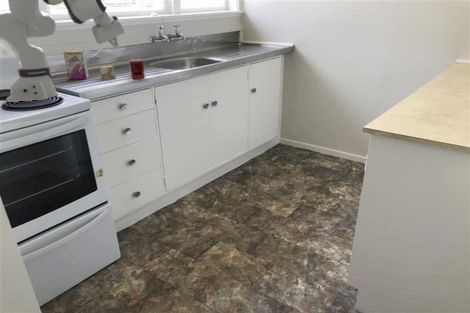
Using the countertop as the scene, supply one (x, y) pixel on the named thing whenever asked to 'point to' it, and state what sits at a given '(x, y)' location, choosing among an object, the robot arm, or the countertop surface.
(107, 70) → the birch block
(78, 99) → the countertop surface
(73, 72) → the candy bar box
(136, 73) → the canned food
